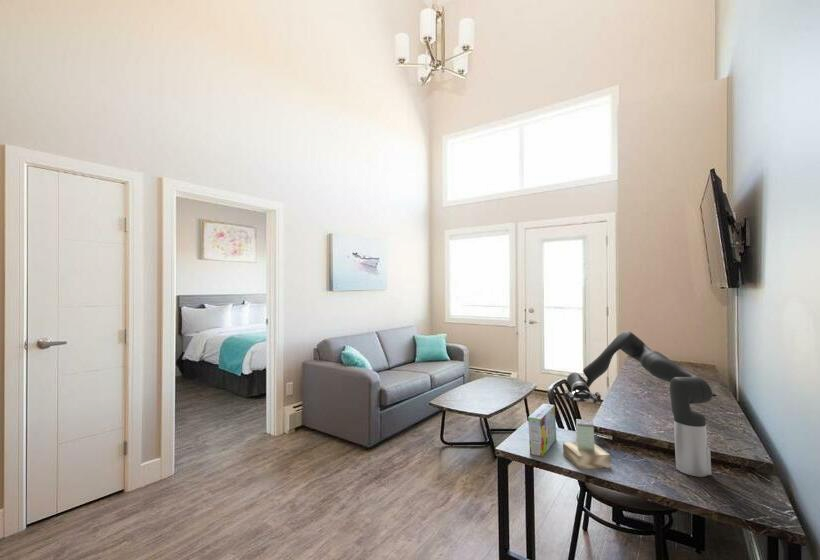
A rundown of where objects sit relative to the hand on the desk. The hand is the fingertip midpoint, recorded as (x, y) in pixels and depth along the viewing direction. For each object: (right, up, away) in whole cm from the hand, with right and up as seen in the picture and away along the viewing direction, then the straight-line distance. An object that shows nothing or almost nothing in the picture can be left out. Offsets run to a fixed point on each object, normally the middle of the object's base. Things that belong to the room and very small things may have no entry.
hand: (583, 400), depth 155 cm
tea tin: (-6, -14, -14) cm, 21 cm away
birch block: (-6, -19, -14) cm, 24 cm away
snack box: (-17, -19, -1) cm, 26 cm away
